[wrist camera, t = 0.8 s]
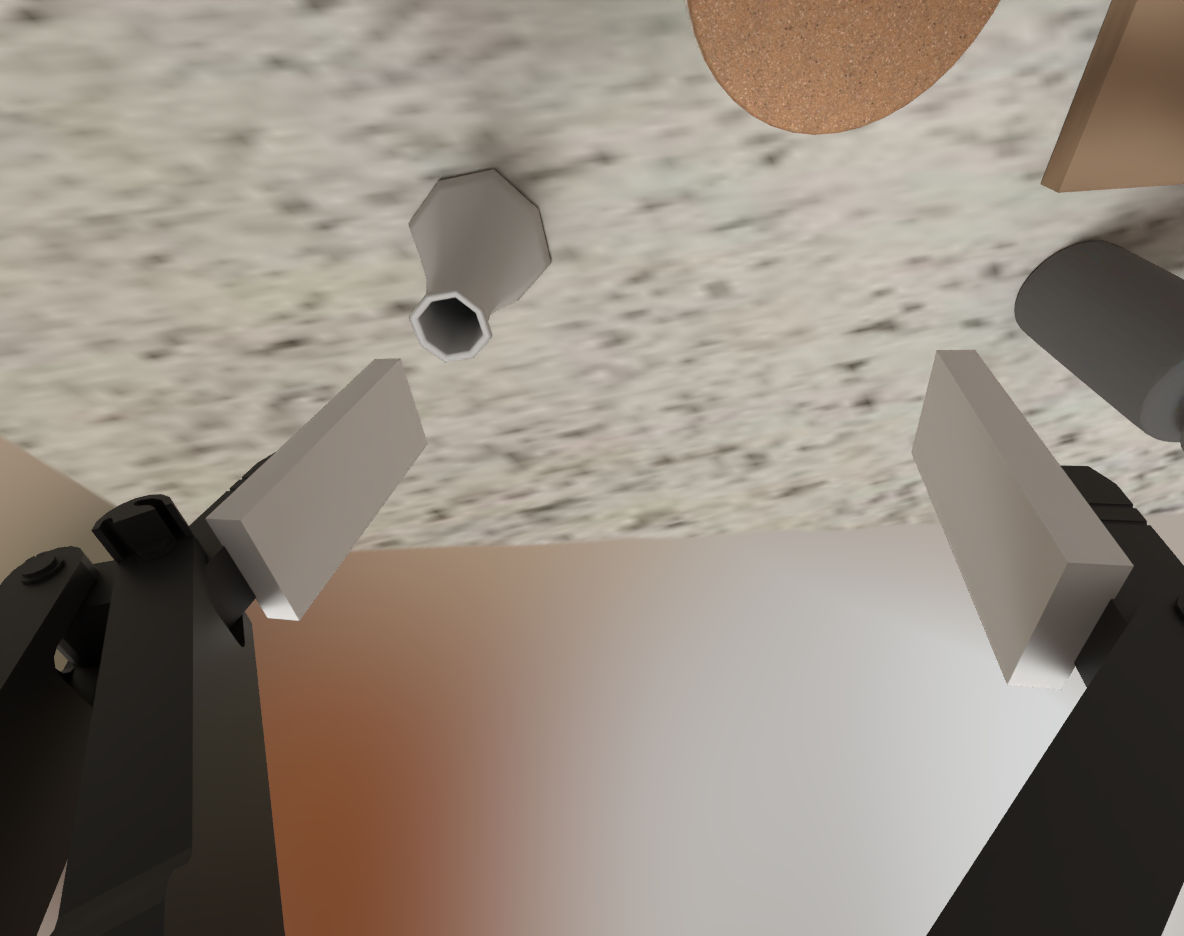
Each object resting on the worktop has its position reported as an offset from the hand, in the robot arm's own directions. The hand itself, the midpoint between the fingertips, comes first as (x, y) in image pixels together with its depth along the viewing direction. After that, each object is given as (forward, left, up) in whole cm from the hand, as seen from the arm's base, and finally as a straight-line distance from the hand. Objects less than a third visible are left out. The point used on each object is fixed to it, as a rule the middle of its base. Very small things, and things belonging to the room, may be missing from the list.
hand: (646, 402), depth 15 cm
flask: (+2, -7, -20) cm, 22 cm away
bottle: (+7, +26, -20) cm, 33 cm away
